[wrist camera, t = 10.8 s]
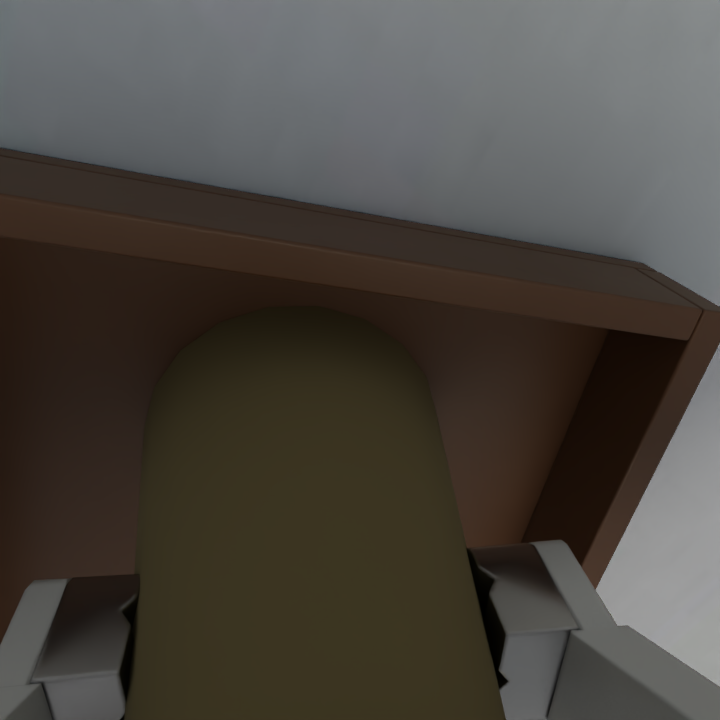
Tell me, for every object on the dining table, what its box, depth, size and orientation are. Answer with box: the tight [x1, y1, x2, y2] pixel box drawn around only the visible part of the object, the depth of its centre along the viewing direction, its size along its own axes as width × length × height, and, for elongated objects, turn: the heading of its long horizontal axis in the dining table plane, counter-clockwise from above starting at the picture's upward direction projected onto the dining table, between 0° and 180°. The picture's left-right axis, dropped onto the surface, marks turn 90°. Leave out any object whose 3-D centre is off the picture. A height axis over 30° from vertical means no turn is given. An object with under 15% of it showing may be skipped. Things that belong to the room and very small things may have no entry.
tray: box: [0, 148, 720, 644], centre depth 14 cm, size 13×17×3 cm
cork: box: [124, 306, 506, 720], centre depth 8 cm, size 6×6×11 cm
